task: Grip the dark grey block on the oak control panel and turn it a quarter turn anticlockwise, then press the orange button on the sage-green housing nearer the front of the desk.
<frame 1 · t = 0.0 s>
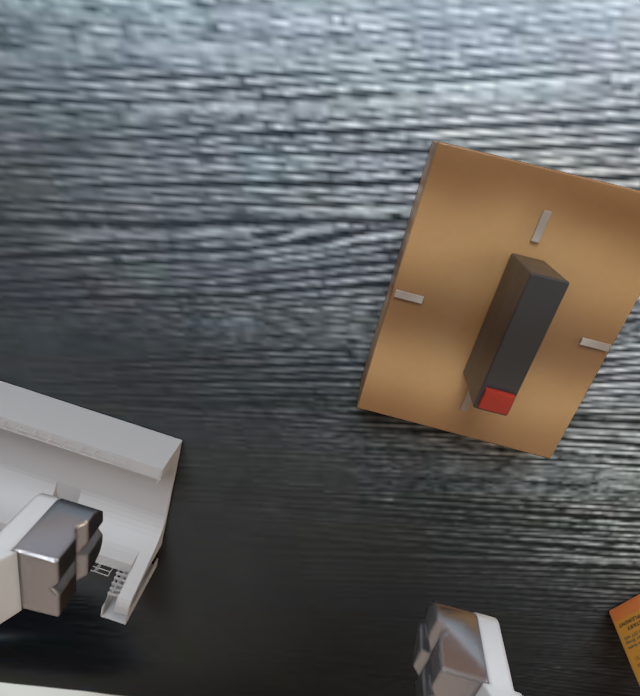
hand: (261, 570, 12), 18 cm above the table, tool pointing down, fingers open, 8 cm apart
control panel: (489, 300, 26), on the table
dark grey block: (509, 334, 22), point 5 cm above the table, hinge at 0.0°
skate ramp: (75, 475, 36), on the table
supplement box: (637, 607, 34), on the table
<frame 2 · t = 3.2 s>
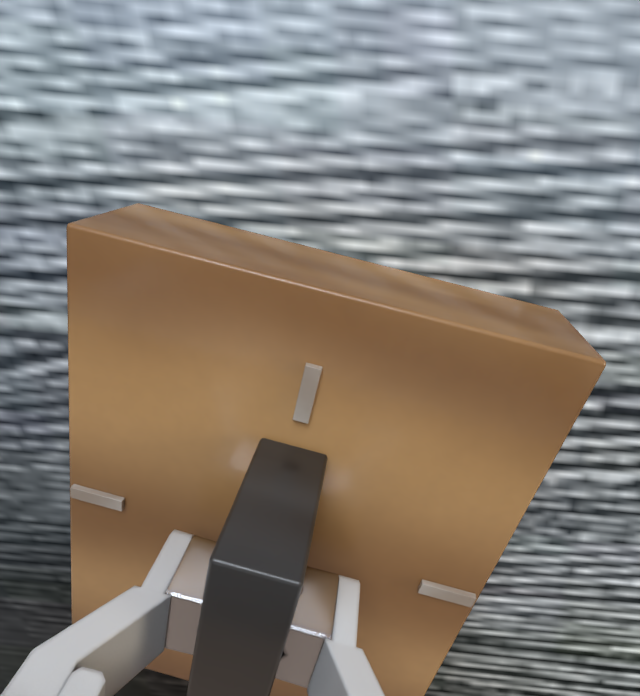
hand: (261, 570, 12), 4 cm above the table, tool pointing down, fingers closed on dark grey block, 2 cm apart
control panel: (292, 468, 15), on the table
dark grey block: (251, 609, 11), point 5 cm above the table, hinge at 0.0°, touching gripper
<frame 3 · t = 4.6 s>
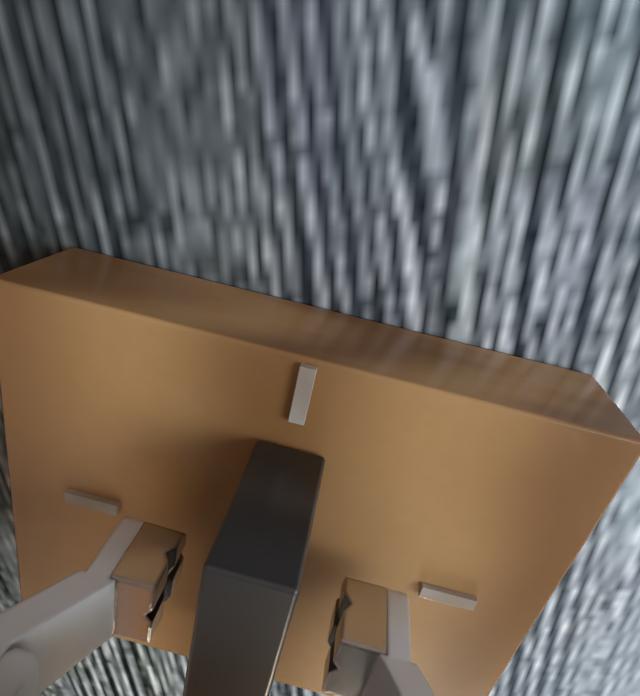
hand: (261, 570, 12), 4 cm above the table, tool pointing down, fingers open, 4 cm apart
control panel: (290, 470, 15), on the table
dark grey block: (248, 615, 10), point 5 cm above the table, hinge at 89.5°
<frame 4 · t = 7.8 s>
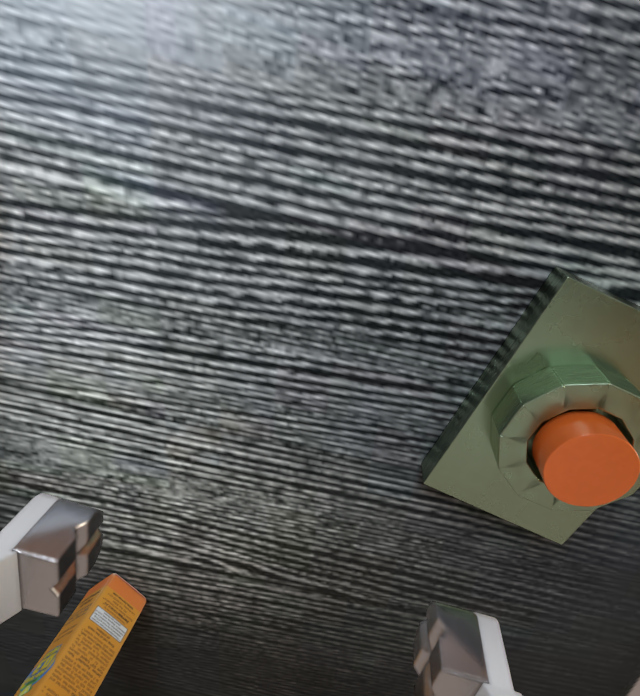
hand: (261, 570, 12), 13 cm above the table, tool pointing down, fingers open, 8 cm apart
button box: (553, 408, 23), on the table
start button: (583, 458, 20), point 4 cm above the table, slide at 0.1 cm
supplement box: (118, 589, 34), on the table
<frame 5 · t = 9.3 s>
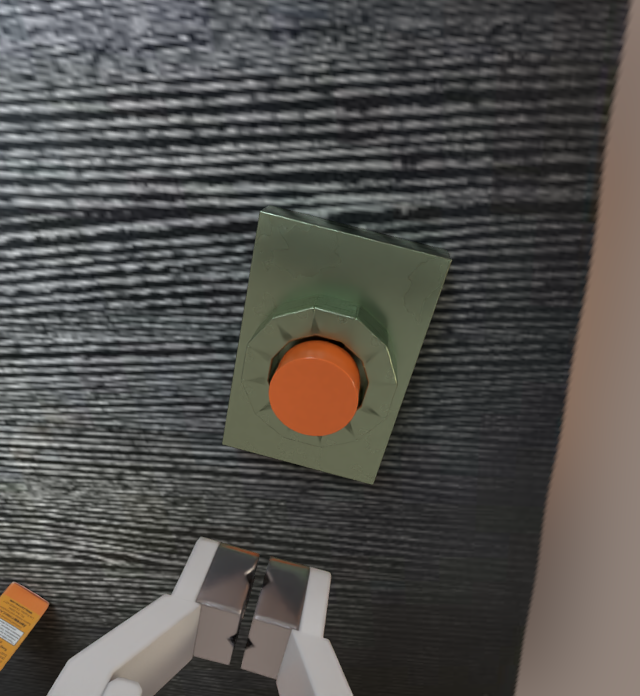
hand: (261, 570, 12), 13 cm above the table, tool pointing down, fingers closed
button box: (327, 348, 23), on the table
start button: (315, 388, 20), point 4 cm above the table, slide at 0.1 cm
supplement box: (25, 597, 35), on the table
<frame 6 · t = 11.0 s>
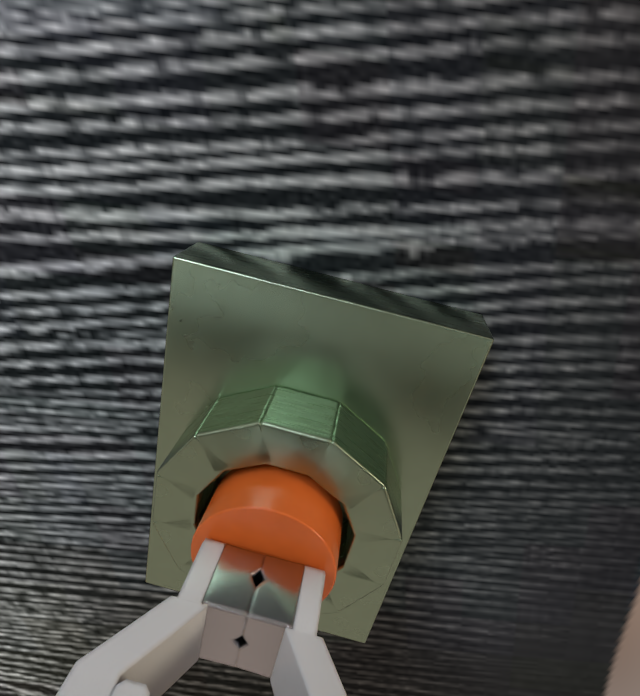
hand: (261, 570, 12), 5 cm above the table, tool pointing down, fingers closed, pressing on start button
button box: (296, 449, 16), on the table
start button: (270, 537, 12), point 4 cm above the table, slide at -0.2 cm, touching gripper
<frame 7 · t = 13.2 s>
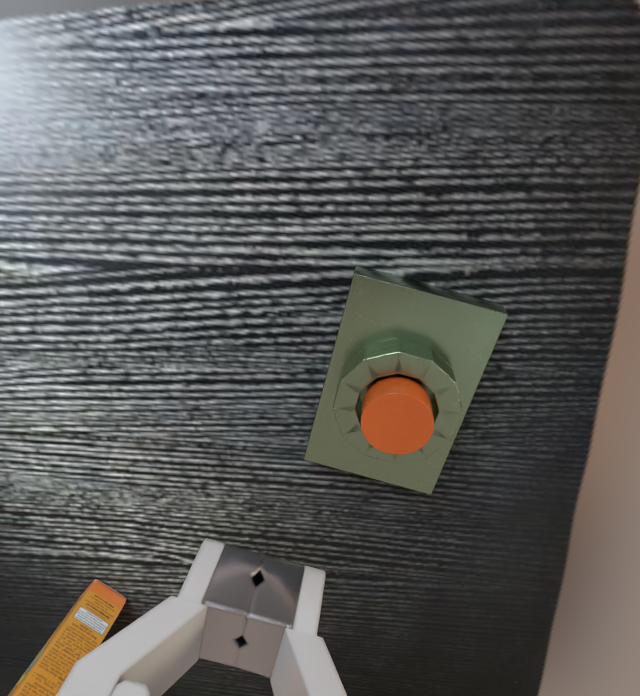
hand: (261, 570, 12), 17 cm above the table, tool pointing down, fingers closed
button box: (395, 380, 28), on the table
start button: (396, 415, 24), point 4 cm above the table, slide at 0.1 cm
supplement box: (103, 594, 39), on the table
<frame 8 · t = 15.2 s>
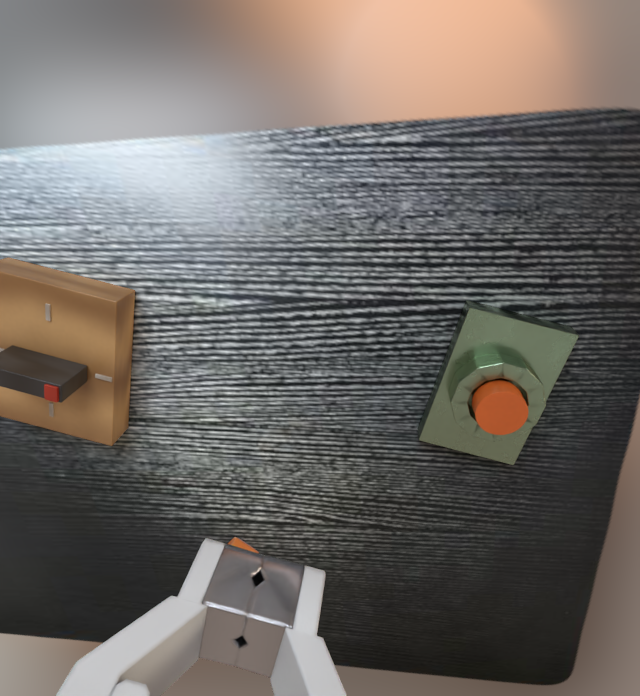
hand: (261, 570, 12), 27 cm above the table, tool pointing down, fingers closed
button box: (489, 381, 38), on the table
control panel: (72, 348, 42), on the table
dark grey block: (34, 373, 38), point 5 cm above the table, hinge at 89.5°
start button: (499, 407, 35), point 4 cm above the table, slide at 0.1 cm
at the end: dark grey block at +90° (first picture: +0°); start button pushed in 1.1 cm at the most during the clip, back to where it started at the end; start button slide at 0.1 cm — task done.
